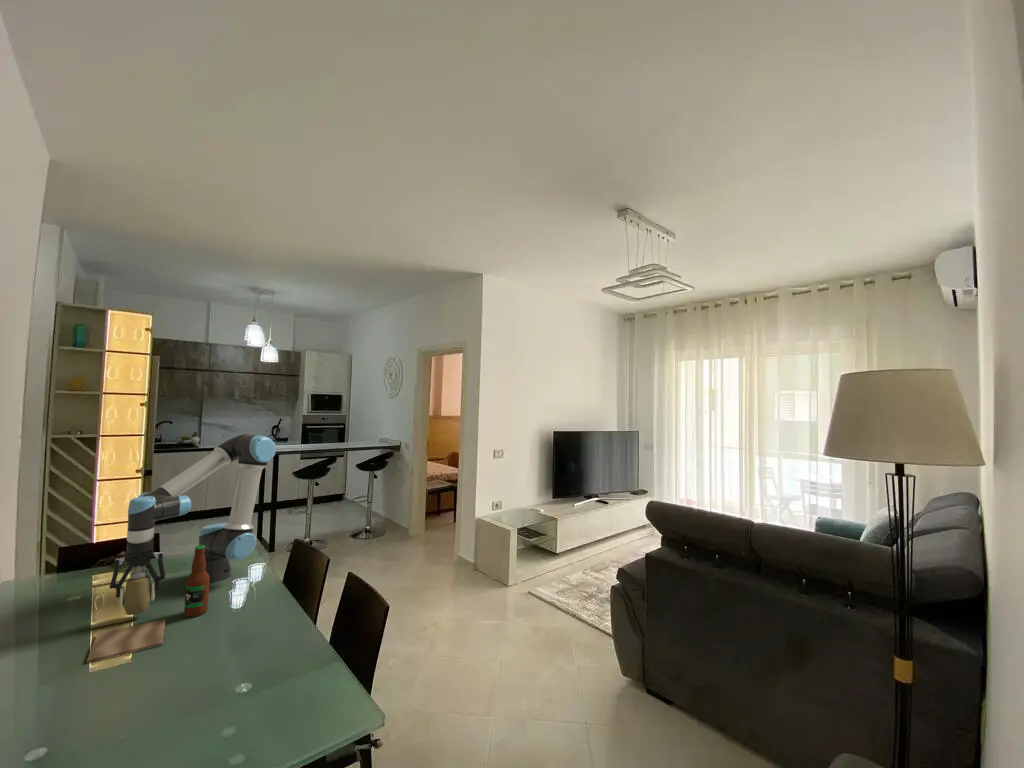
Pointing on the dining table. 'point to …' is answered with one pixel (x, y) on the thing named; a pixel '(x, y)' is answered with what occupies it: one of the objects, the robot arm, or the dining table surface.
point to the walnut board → (127, 640)
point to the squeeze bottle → (137, 592)
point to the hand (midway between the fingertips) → (137, 602)
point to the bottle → (197, 586)
